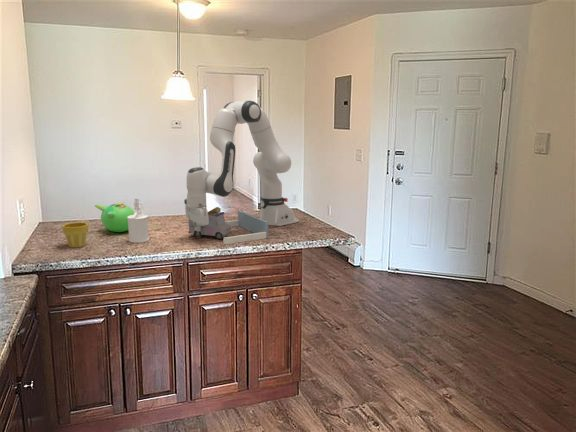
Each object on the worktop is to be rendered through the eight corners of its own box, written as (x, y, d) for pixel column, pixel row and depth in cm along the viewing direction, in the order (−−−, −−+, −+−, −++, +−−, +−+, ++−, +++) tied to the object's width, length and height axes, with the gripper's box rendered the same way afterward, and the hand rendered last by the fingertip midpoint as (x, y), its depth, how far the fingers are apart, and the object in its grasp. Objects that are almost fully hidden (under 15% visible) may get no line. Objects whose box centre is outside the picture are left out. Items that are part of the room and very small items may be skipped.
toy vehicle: (224, 241, 224) (223, 209, 221) (187, 237, 230) (186, 206, 227) (232, 236, 233) (232, 206, 230) (196, 232, 239) (195, 203, 235)
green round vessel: (142, 231, 239) (141, 203, 236) (111, 237, 227) (109, 207, 224) (125, 225, 251) (123, 198, 248) (93, 231, 239) (91, 202, 236)
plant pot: (69, 242, 218) (67, 221, 216) (92, 242, 219) (90, 221, 217) (60, 249, 208) (58, 227, 206) (85, 248, 209) (83, 227, 206)
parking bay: (239, 225, 255) (239, 210, 253) (268, 238, 230) (268, 222, 228) (199, 230, 243) (198, 215, 241) (224, 244, 218) (224, 227, 216)
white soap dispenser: (132, 237, 228) (130, 196, 224) (151, 237, 228) (149, 196, 223) (124, 243, 218) (121, 200, 213) (144, 243, 217) (142, 201, 213)
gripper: (211, 205, 216) (212, 234, 219) (195, 198, 233) (195, 225, 236) (198, 206, 213) (199, 236, 216) (182, 199, 230) (183, 227, 233)
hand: (197, 230), depth 226 cm, fingers closed
